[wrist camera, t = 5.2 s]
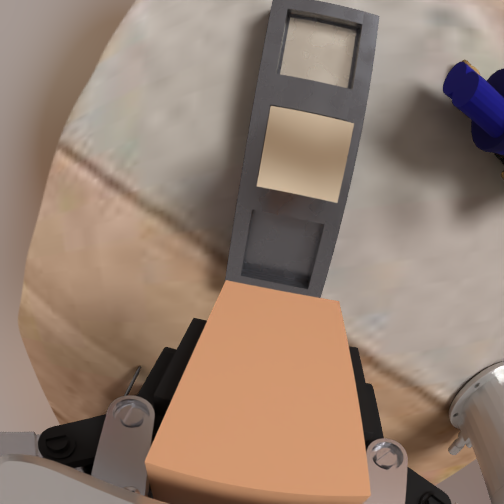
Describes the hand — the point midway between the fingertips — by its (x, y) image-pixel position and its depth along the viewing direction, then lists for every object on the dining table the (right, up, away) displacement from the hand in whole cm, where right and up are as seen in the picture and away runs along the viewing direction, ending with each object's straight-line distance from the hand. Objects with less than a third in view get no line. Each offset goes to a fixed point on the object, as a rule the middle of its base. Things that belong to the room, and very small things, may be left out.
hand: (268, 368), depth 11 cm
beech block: (+3, +12, +12) cm, 18 cm away
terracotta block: (0, +1, +2) cm, 2 cm away
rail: (+3, +13, +13) cm, 19 cm away
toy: (+22, +15, +10) cm, 28 cm away
